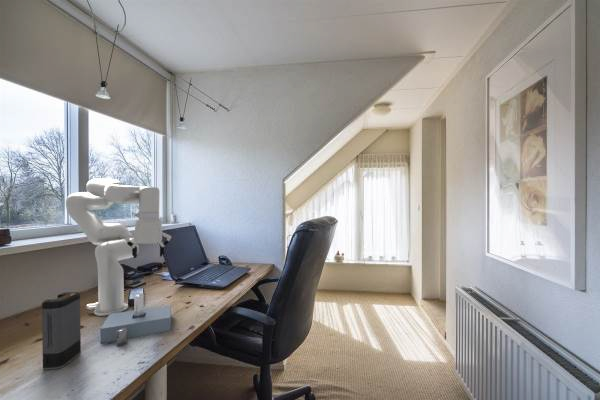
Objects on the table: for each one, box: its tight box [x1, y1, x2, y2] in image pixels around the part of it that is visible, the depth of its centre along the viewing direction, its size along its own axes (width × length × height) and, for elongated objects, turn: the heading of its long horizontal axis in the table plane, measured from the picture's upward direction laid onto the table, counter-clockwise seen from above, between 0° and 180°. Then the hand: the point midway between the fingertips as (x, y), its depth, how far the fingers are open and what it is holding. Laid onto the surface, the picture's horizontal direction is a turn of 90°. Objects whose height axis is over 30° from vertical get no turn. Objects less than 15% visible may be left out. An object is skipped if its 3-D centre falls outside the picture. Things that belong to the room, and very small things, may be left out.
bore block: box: [99, 304, 172, 344], centre depth 107 cm, size 22×14×5 cm, turn 114°
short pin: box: [115, 328, 128, 348], centre depth 95 cm, size 3×3×5 cm
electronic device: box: [41, 291, 82, 370], centre depth 86 cm, size 9×6×20 cm, turn 5°
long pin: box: [133, 293, 145, 318], centre depth 107 cm, size 3×3×13 cm
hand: (148, 256), depth 116 cm, fingers open, 9 cm apart
